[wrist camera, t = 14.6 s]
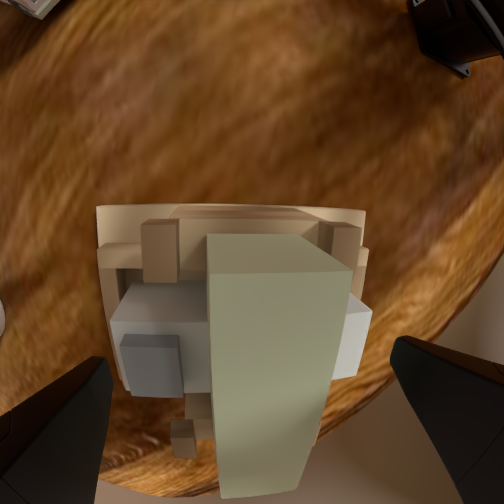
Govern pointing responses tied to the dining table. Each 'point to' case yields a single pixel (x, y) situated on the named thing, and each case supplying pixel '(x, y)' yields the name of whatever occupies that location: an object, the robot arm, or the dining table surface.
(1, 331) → the coffee cup
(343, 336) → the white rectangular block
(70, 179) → the dining table surface
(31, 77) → the dining table surface
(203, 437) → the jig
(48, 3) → the toy vehicle
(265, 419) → the pale green rectangular block
